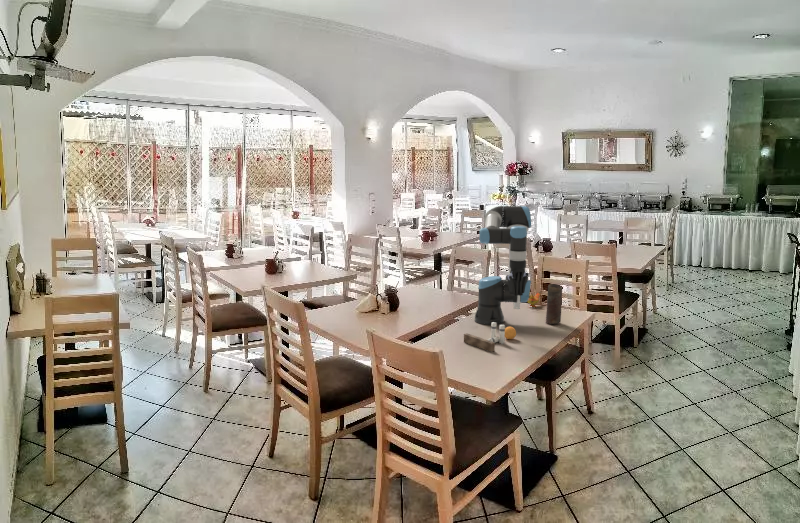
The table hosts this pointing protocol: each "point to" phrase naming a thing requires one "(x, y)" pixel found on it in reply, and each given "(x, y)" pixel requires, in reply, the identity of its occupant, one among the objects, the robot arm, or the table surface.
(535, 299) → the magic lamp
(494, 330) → the pin
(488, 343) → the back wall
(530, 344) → the table surface
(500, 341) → the pin
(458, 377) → the table surface
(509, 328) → the ball
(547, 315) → the rusty brown cylinder
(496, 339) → the front pin
